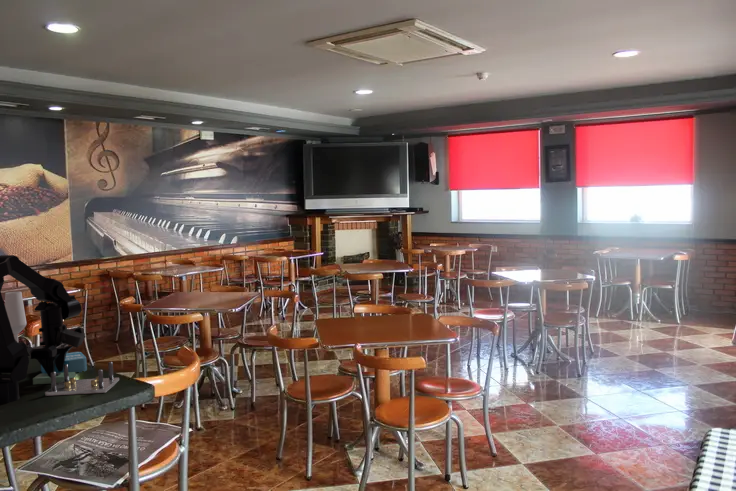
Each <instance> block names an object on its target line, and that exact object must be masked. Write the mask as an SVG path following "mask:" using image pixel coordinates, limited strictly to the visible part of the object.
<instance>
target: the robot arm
mask: <svg viewBox="0 0 736 491" xmlns="http://www.w3.org/2000/svg"><path fill="white" fill-rule="evenodd" d="M5 276H6V277H7V276H10V277H12V279H15V280H17V281H18V282H19V283H21V284H23V285H24V286H25V287H27V288H28V289H29V290H30V294H31V295H32V296H33V297H34V298H35V299H36V300H37V301H39V303H38V304H37V305H36V306H35V308H34V311H35V312H37V311H38V312H39V314H40V326H41V327H39V328H38V332H39V333H41V334H42V335H41V341H40V342H39V345H37V346H35V347H33V348H32V349H31V350H30V351H28V347H27V344H26V343H25V342H19V341H18V342H17V341H16V340H15V338H14V334H13V332H12V328H11V325H10V321H9V318H8V315H7V311H6V308H5V300H4V298H3V296H2V288H3V285H4V283H5ZM82 308H83V307H82V305H81V303H80V301H79V300H78V299H76V295H73V294H71V295H70V294H69V292H68V290H66V289H65V286H64V283H62V282H61V281H59V280H57V279H54V278H51V277H46V276H43V275H42V274H40V273H39V272H38V271H36V270H35V269H34V268H32V267H30V266H29V265H28V264H27V263H25V262H24V261H22V260H20V258H19V257H18V256H17V255H15V254H10V255H9V254H3V255H0V405H3V404H10V403H13V402H16V401H18V400H20V386H19V384H20V383H19V382H20V381H23V380H25V379H27V375H28V368H29V364H30V360H37V361H38V363H39V364H40V366H41V365H42V367H43V368H44V370H45V371H46V373H47V374H48V376H49V377H50V378H51V372H55V365H56V367H57V369H58V371H59V372H62V371H63V365H64V362H65V358H66V354H67V353H69V351H70V350H71V349H72V348H79V346H82V344H83V342H84V339H85V338H86V333H85V332H84V328H83V327H80V326H78V327H76V329H71V330H70V329H68V325H66V323H65V324H64V323H63V322H64V321H63V320H67V319H70V318H71V319H72V318H73V317H74V318H75V317H77V316H79V315H80V314H81V312H82ZM29 359H30V360H29Z"/></svg>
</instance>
